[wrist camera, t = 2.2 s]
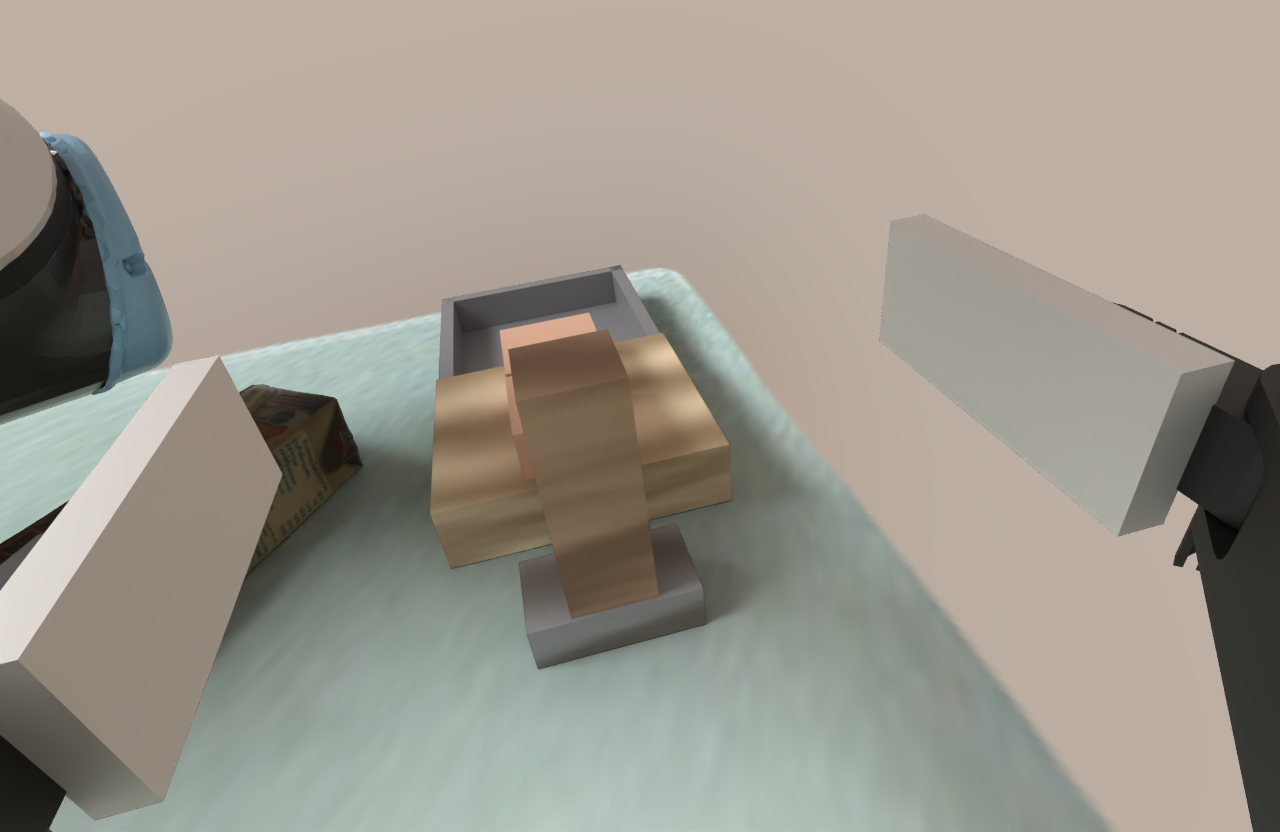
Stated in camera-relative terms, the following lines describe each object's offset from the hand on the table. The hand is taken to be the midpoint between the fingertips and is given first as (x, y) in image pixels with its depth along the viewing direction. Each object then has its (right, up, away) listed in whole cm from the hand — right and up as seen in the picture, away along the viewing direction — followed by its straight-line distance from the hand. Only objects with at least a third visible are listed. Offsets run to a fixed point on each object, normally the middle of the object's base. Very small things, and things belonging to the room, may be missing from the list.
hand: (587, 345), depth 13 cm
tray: (-6, +4, +41) cm, 42 cm away
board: (-3, -4, +29) cm, 30 cm away
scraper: (0, -11, +19) cm, 22 cm away
